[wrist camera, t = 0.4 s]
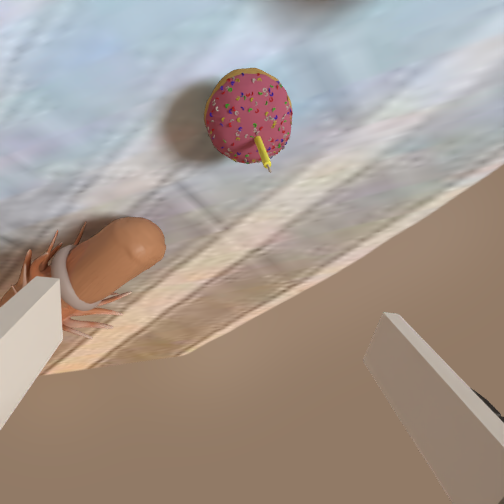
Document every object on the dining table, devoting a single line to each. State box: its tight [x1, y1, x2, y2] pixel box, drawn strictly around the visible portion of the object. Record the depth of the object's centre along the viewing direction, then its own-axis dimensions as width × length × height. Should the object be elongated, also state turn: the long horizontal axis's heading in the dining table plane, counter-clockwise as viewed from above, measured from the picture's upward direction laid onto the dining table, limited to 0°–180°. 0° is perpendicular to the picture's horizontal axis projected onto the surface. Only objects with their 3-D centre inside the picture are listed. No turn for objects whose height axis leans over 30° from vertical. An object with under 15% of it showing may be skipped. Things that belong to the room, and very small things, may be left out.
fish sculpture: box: [0, 217, 166, 339], centre depth 38 cm, size 13×15×25 cm
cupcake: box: [204, 68, 292, 173], centre depth 28 cm, size 9×8×12 cm
